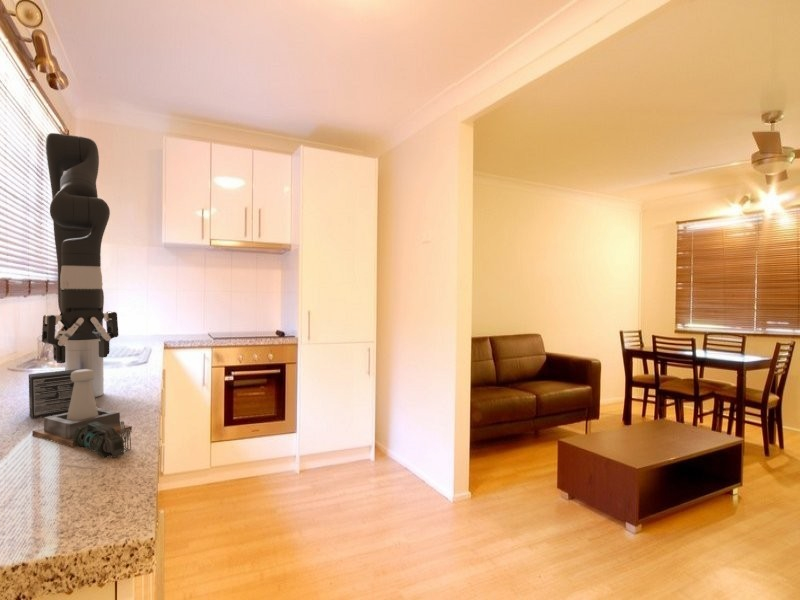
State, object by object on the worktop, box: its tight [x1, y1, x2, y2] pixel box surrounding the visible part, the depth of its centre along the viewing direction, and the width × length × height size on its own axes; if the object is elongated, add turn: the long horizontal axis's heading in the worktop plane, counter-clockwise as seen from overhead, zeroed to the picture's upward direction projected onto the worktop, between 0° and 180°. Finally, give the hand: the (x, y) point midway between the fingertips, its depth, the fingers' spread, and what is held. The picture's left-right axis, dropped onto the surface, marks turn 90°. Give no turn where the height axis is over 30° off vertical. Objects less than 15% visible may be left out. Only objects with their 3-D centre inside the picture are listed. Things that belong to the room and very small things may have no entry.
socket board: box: [32, 407, 133, 448], centre depth 98 cm, size 16×12×4 cm
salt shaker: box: [67, 369, 99, 421], centre depth 98 cm, size 6×6×13 cm
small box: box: [28, 369, 78, 420], centre depth 115 cm, size 11×6×10 cm, turn 135°
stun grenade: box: [72, 421, 132, 459], centre depth 88 cm, size 6×6×14 cm
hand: (82, 359), depth 98 cm, fingers open, 8 cm apart
